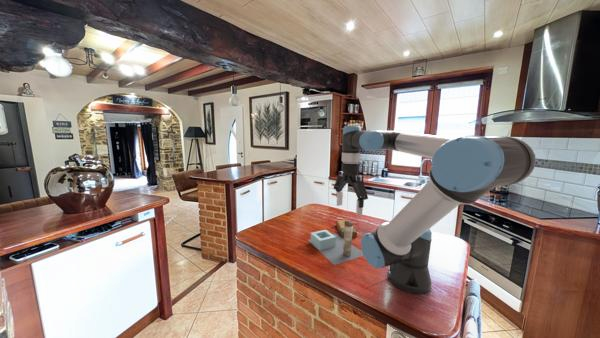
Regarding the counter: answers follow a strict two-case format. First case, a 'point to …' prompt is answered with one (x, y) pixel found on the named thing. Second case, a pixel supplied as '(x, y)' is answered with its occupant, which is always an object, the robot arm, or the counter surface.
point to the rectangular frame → (323, 239)
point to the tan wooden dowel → (347, 238)
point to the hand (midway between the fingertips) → (348, 209)
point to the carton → (341, 228)
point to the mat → (339, 252)
